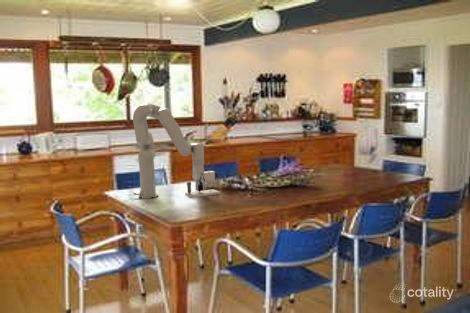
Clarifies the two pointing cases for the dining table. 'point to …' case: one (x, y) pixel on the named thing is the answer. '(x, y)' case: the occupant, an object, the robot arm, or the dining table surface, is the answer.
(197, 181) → the slider leg
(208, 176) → the pneumatic valve
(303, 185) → the dining table surface
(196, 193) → the pitch plate
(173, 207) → the dining table surface
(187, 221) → the dining table surface
